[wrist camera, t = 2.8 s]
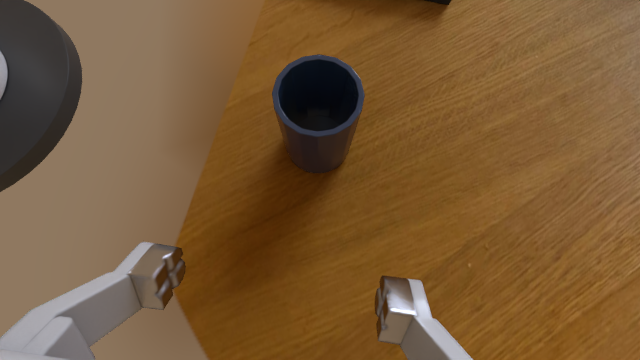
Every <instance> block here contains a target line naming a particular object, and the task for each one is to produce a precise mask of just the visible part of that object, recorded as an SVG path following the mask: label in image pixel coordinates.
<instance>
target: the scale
mask: <svg viewBox="0 0 640 360" xmlns="http://www.w3.org/2000/svg"><path fill="white" fill-rule="evenodd" d="M426 1H431V2H437V3H442V4H447V5H449V3H450V1H451V0H426Z"/></svg>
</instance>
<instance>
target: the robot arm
mask: <svg viewBox="0 0 640 360" xmlns="http://www.w3.org/2000/svg"><path fill="white" fill-rule="evenodd" d="M7 77H8V69H7V64H6V60H5V58H4V56H3V54H2V52H1V51H0V99H1V97H2V95H3V93H4V90H5V87H6V84H7ZM182 255H183V252H182V248H179V247H173V246H167V245H161V244H155V243H148V242H142V243H140V244H138V246H137V247H136V248H135V249H134V250H133V251H132V252H131V253H130V254H129V255H128V256H127V257H126V258H125V259H124V261H123V262H122V263H121V264H120V265H119V266H118V267H117V268H116V269H115V270H114V271H113V272H112V273H106V274H104V275H102V276H100V277H98V278H96V279H94V280H92V281H90V282H88V283H86V284H84V285H81V286H79V287H77V288H76V289H73V290H71V291H69V292H67V293H65V294H63V295H61V296H59V297H57V298H55V299H53V300H51V301H49V302H47V303H45V304H42V305H41V306H38V307H36V308H34V309H32V310H30V311H29V312H28V313H27V314H26V315H25V316H24V317H22V319H20V320H19V321H18V322H17V323H16V324H15V325H14V326H13V327H12V328H10V329H9V330H8V331H7V332H6V333H5V334H4V335H3V336H2V337H1V338H0V360H95V356H94V354H93V353H92V351H91V349H90V348H89V347H90V346H91V345H93V344H94V343H95V342H97V341H98V340H100V339H101V338H102V337H104V336H105V335H106V334H108V333H109V332H111V331H112V330H113V329H114V328H116V327H117V326H119V325H120V324H121V323H123V322H124V321H125V320H127V319H128V318H130V317H131V316H132V315H134V314H135V313H136V312H138V311H139V310H141V307H142V308H151V309H159V310H164V308H165V306H166V305H167V304H168V302H169V300H170V299H171V297H172V296H173V292H172V289H174V288H176V287H177V286H179V285H180V283H181V281H182V280H183V277H184V274H185V269H186V266H185V262H184V261H183V260H182V259H181V257H182ZM375 314H376V315H377V316H378V321H377V324H376V326H377V336H378V341H381V342H386V343H392V344H398V345H400V347H401V348H402V350H403V352H404V353H405V355H406V356H407V358H408V360H473V359H472V358H471V357H470V356H469V355H468V353H467V352H466V351H465V350H464V349H463V348H462V347H461V346H460V345H459V344H458V342H457V341H456V340H455V339H454V338H453V337H452V336H451V335H450V334H449V333H448V331H447V330H446V329H445V328H444V327H443V326H442V325H441V324H440V323H439V322H438V320H437V319H432V315H431V312H430V308H429V305H428V301H427V298H426V295H425V291H424V288H423V284H422V282H421V281H420V280H413V279H406V278H399V277H391V276H383V275H382V277H381V279H380V288H378V289H377V291H376V296H375Z"/></svg>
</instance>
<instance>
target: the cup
mask: <svg viewBox="0 0 640 360" xmlns="http://www.w3.org/2000/svg"><path fill="white" fill-rule="evenodd" d="M272 96H273V103H274V109H275V112H276V116H277V119H278V122H279V126H280V129H281V132H282V136H283V139H284V142H285V146H286V149H287V152H288V154H289V156H290V158H291V160H292V161H293V162H294V163H295V164H296V165H297V166H298V167H299V168H301V169H303V170H305V171H307V172H311V173H325V172H329V171H331V170H333V169H335V168H337V167H338V166H339V165H340V164H341V163H342V162H343V161H344V159H345V158H346V156H347V154H348V152H349V149H350V146H351V142H352V139H353V136H354V133H355V130H356V127H357V123H358V120H359V117H360V114H361V111H362V106H363V101H364V91H363V87H362V82H361V79H360V78H359V77H358V75H357V74H356V73H355V71H354V70H353V69H352V67H351V66H349V65H347V64H346V63H344V62H343V61H341V60H339V59H338V58H335V57H330V56H325V55H312V56H305V57H301V58H299V59H297V60H296V61H294V62H292V63H290V64H288V65H287V66H286V67H285V68H284V69H283V71H282V72H281V73H280V74H279V75H278V77H277V78H276V81H275V85H274V88H273V92H272Z"/></svg>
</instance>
